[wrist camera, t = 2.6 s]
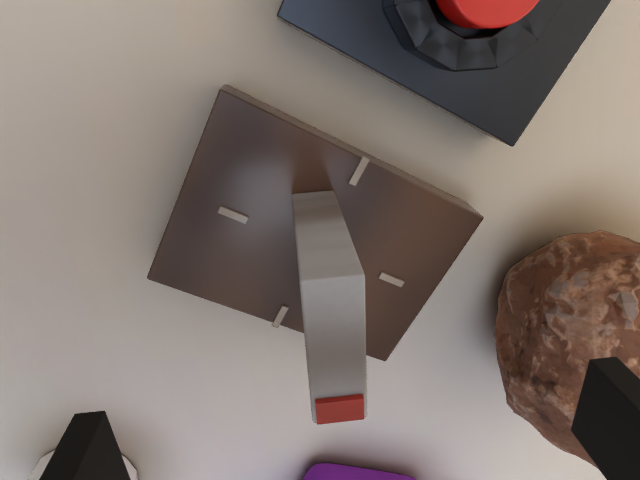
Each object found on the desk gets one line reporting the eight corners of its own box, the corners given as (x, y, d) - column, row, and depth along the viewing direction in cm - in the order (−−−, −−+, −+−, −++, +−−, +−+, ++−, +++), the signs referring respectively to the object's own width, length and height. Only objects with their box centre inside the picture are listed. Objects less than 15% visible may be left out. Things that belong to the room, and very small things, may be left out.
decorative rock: (612, 375, 30) (755, 519, 21) (456, 387, 29) (536, 544, 20) (676, 197, 24) (909, 292, 15) (485, 207, 24) (613, 312, 15)
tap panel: (155, 261, 23) (144, 282, 21) (225, 81, 20) (220, 86, 18) (377, 341, 27) (385, 365, 25) (469, 202, 23) (487, 217, 21)
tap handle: (291, 193, 20) (300, 285, 13) (333, 189, 20) (367, 278, 13) (301, 301, 23) (313, 429, 15) (338, 297, 23) (368, 423, 15)
